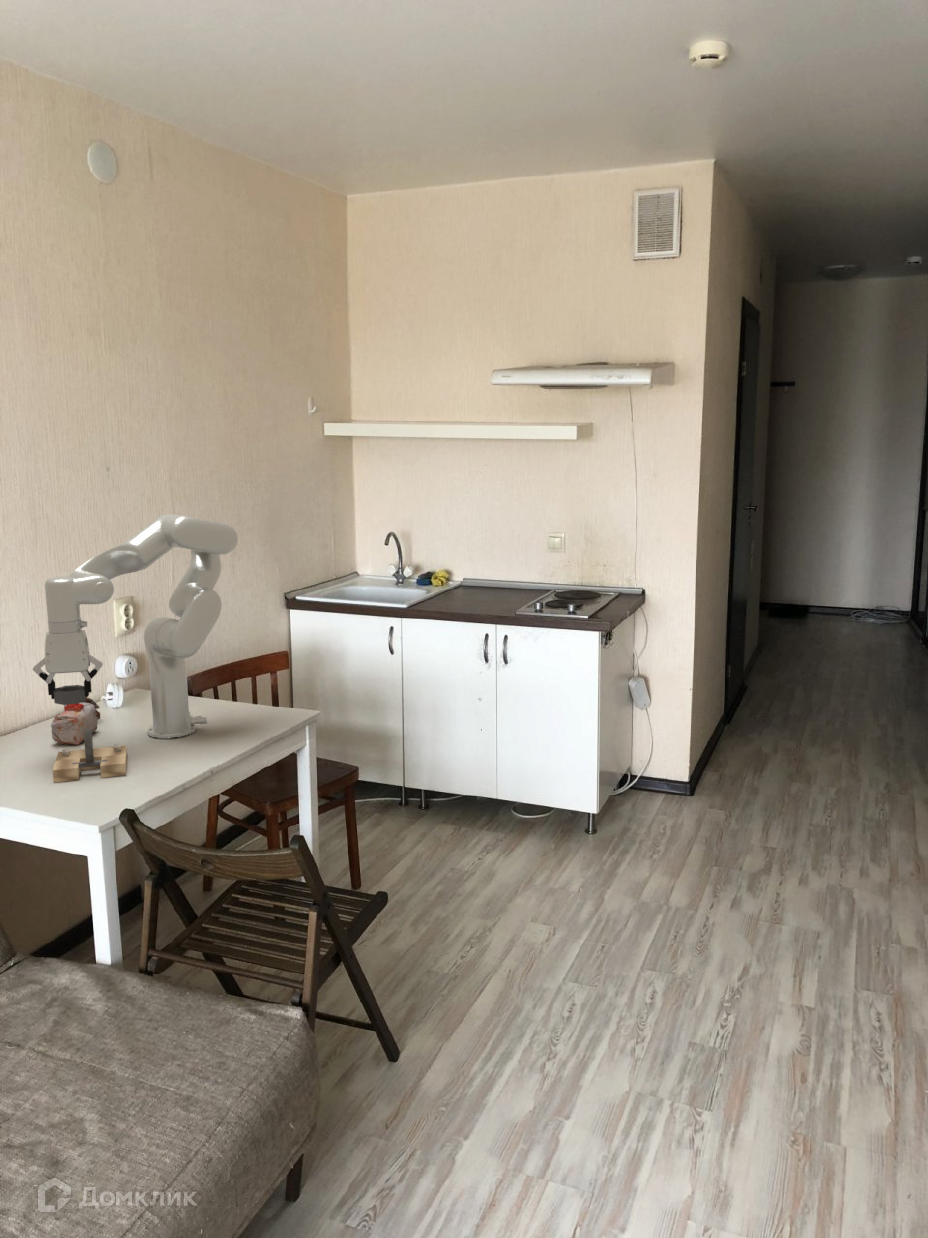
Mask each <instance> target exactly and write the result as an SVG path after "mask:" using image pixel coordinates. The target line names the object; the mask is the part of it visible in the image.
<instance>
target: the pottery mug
mask: <svg viewBox="0 0 928 1238" xmlns="http://www.w3.org/2000/svg"><path fill="white" fill-rule="evenodd" d="M84 702H85V703H90V704H92V705H94V706H95V712H96V719H101V712H100V711H99V710H98V709H100V705H98V704H97V702H95V701H94V700H93V699H92V698H90V697H89V696H88V697H87V699H86V701H84ZM81 703H82V702H81ZM68 705H70V704H68Z"/></svg>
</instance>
